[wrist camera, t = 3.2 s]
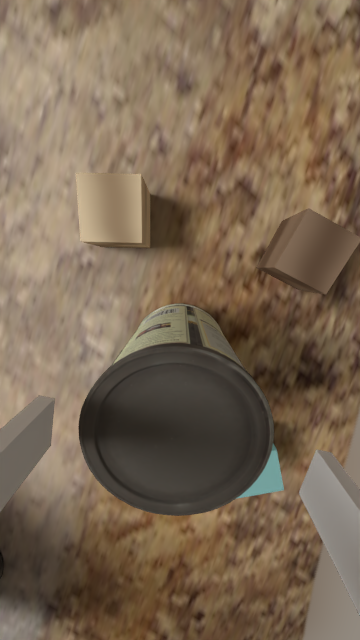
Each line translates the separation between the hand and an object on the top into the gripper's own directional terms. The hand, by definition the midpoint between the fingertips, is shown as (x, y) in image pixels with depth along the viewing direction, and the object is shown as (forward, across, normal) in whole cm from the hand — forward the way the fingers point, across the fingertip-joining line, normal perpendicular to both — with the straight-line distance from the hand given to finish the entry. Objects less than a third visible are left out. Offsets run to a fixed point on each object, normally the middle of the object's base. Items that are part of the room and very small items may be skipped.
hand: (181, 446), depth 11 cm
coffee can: (+15, 0, 0) cm, 15 cm away
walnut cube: (+15, +9, +12) cm, 21 cm away
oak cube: (+15, -8, +12) cm, 21 cm away
